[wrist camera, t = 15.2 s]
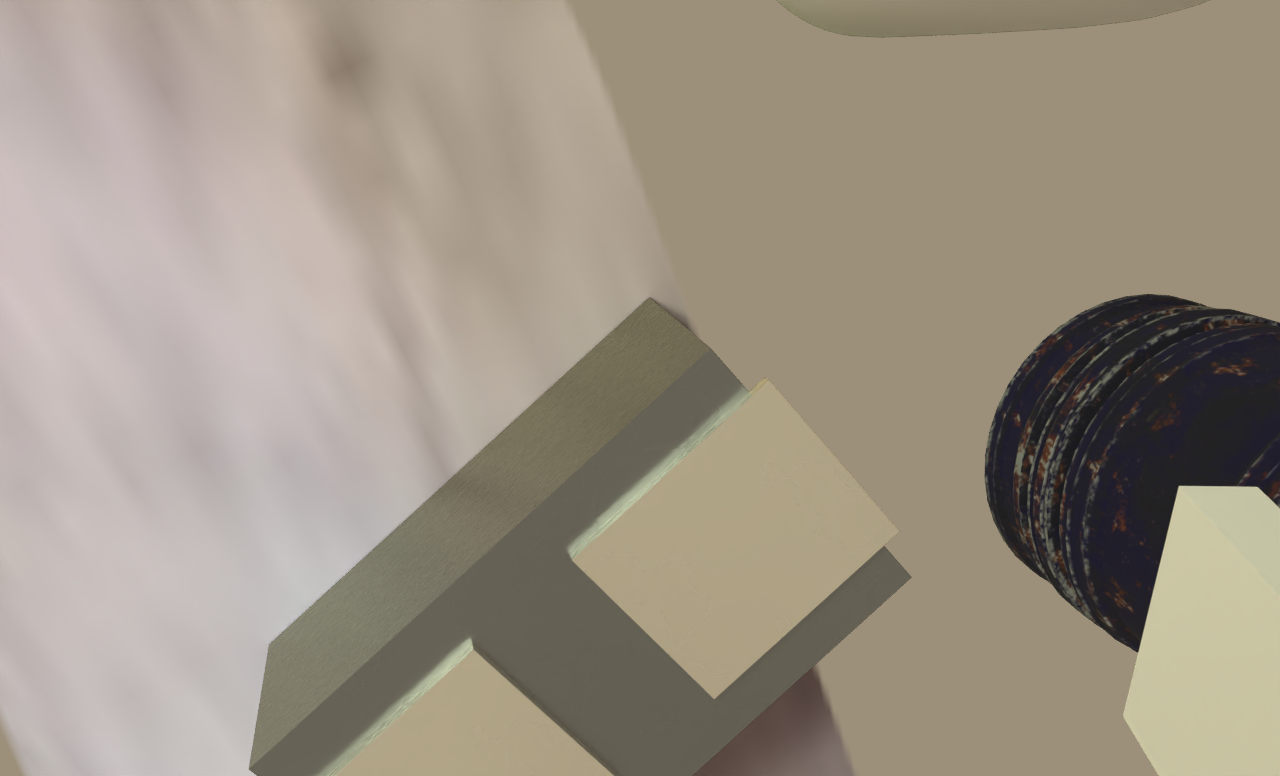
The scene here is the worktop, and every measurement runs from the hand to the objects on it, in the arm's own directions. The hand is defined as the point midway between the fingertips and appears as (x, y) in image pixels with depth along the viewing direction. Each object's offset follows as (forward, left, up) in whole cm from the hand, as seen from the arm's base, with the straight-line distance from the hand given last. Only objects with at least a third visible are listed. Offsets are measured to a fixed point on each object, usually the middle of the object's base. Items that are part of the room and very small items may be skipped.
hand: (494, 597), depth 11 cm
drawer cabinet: (+3, +9, -20) cm, 22 cm away
